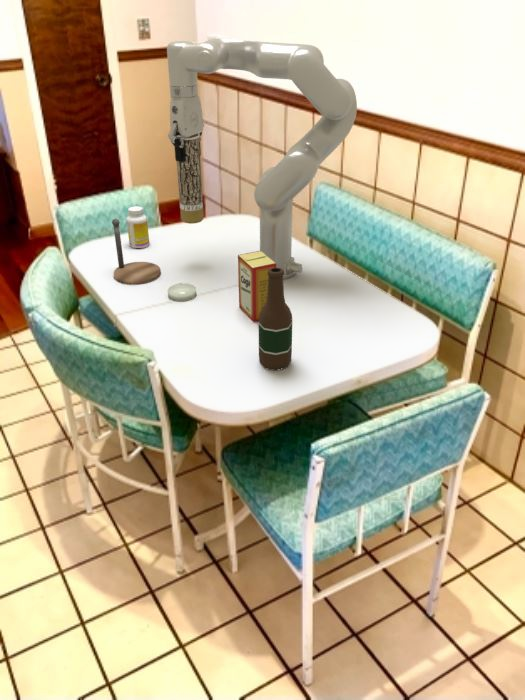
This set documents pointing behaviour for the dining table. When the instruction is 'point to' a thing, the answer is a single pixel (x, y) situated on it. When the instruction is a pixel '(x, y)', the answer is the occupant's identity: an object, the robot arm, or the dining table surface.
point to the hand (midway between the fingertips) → (188, 157)
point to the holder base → (132, 265)
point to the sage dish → (182, 292)
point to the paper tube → (190, 182)
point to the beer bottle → (275, 325)
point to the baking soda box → (253, 282)
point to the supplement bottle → (137, 228)
